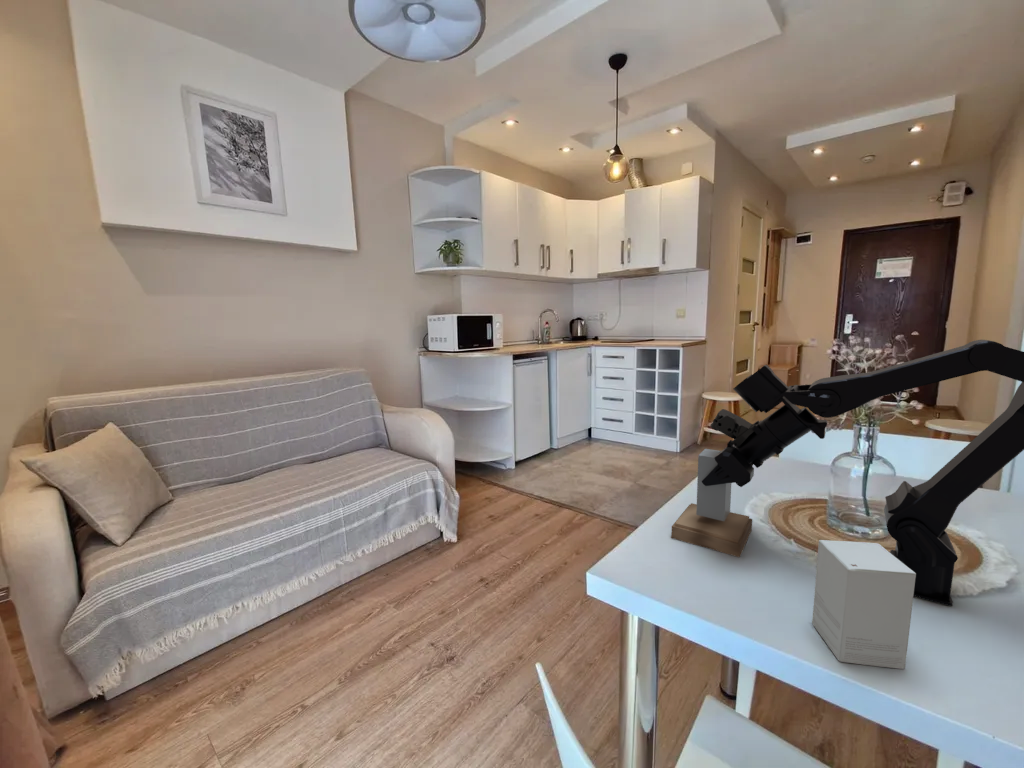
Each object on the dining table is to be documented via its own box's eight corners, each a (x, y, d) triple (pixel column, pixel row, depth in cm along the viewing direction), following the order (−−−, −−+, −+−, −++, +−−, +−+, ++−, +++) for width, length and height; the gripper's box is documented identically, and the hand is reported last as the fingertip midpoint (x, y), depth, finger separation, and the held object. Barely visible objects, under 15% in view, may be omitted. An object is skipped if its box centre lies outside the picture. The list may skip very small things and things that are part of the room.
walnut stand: (751, 530, 86) (752, 516, 86) (739, 557, 77) (740, 541, 76) (689, 514, 93) (689, 501, 93) (671, 537, 84) (671, 523, 84)
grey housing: (730, 511, 85) (732, 452, 83) (724, 521, 81) (727, 459, 79) (703, 505, 88) (705, 448, 86) (696, 514, 84) (698, 455, 82)
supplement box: (907, 671, 52) (919, 574, 50) (837, 662, 53) (847, 568, 51) (870, 628, 59) (879, 541, 57) (809, 621, 61) (816, 537, 59)
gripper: (750, 389, 86) (691, 436, 94) (730, 406, 71) (662, 459, 80) (795, 433, 82) (729, 477, 91) (783, 460, 68) (706, 510, 76)
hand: (707, 479), depth 84 cm, fingers closed on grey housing, 5 cm apart
